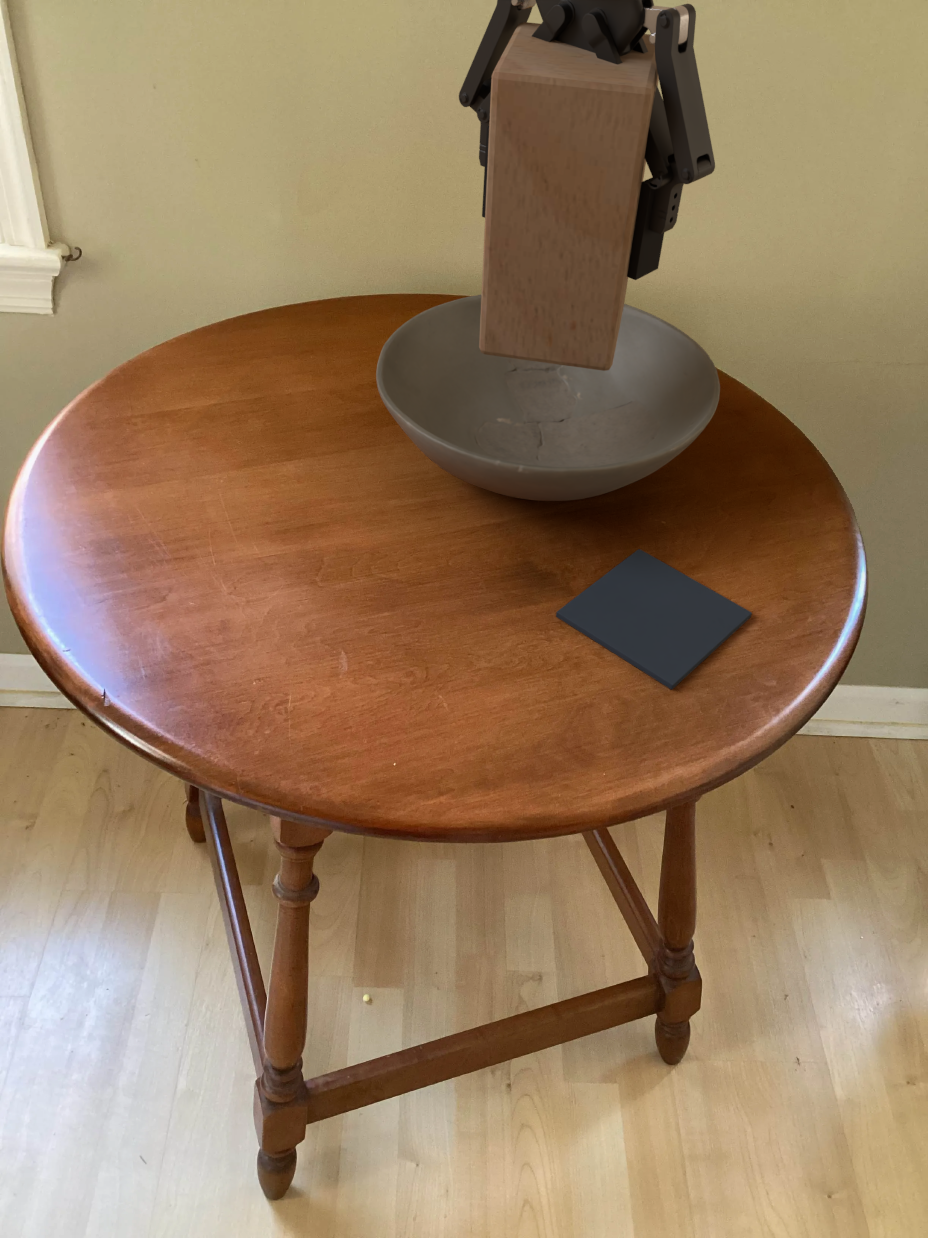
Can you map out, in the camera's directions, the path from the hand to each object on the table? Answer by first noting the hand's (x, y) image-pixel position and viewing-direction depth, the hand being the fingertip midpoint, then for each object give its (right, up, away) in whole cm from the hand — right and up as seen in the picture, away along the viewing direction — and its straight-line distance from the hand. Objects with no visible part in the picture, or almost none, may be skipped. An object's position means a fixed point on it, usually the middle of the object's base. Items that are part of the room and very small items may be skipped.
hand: (566, 242), depth 77 cm
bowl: (-1, -13, +13) cm, 19 cm away
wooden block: (-1, -5, +5) cm, 7 cm away
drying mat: (+6, -28, -2) cm, 28 cm away
